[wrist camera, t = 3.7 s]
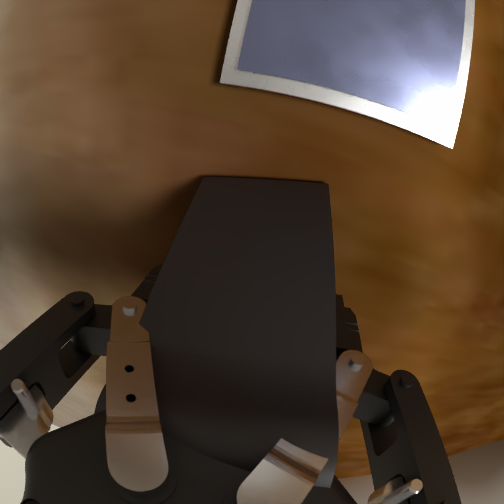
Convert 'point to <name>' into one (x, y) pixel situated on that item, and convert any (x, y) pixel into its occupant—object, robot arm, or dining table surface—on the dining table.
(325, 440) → the phone stand
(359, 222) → the dining table surface
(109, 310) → the robot arm
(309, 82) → the ink pad
